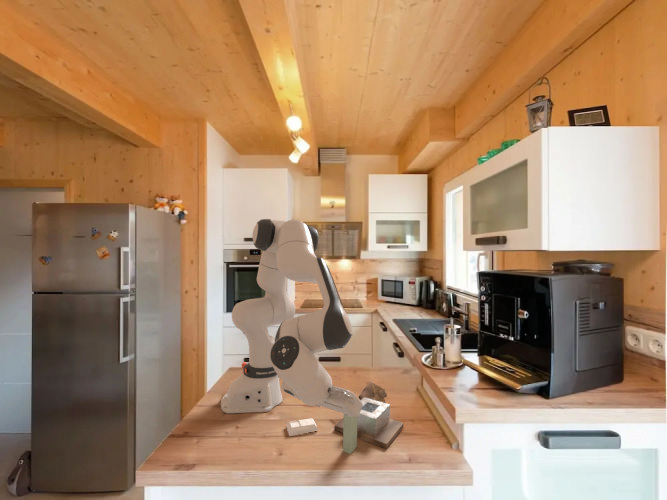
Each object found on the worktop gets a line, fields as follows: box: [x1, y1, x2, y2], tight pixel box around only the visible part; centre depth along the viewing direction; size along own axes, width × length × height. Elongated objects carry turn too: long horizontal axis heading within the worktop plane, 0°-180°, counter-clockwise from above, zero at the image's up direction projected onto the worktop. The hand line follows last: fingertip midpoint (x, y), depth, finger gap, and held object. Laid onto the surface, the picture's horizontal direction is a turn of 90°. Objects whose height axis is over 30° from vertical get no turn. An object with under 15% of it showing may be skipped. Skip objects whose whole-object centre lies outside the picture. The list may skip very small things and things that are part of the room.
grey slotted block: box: [357, 397, 391, 437], centre depth 109 cm, size 9×11×6 cm
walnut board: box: [334, 417, 404, 450], centre depth 109 cm, size 18×14×2 cm
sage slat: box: [342, 414, 358, 455], centre depth 98 cm, size 2×4×12 cm, turn 148°
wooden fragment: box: [358, 381, 388, 403], centre depth 133 cm, size 26×11×1 cm, turn 172°
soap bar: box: [286, 417, 318, 437], centre depth 107 cm, size 5×9×3 cm, turn 108°
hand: (333, 408), depth 90 cm, fingers open, 8 cm apart
